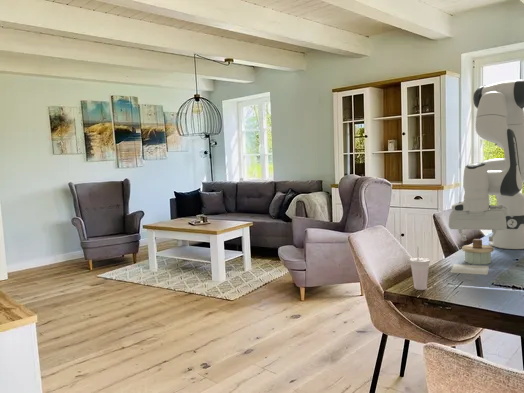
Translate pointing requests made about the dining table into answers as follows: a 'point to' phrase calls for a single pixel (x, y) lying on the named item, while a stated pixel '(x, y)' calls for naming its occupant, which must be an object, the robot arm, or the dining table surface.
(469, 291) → the dining table surface
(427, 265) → the smoothie
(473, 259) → the bowl
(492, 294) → the dining table surface
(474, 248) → the lid
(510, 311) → the dining table surface
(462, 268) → the mat
